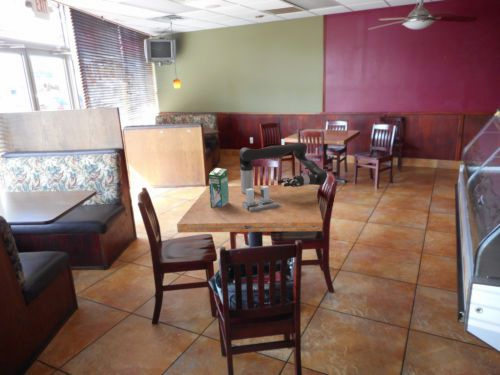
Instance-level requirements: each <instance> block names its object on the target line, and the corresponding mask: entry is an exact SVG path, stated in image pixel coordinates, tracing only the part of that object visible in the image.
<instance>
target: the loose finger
mask: <svg viewBox="0 0 500 375" xmlns="http://www.w3.org/2000/svg"><path fill="white" fill-rule="evenodd" d="M260 199H261V201H262V202H266V201H269V199H270V186H268V185H262V186H260Z"/></svg>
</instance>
